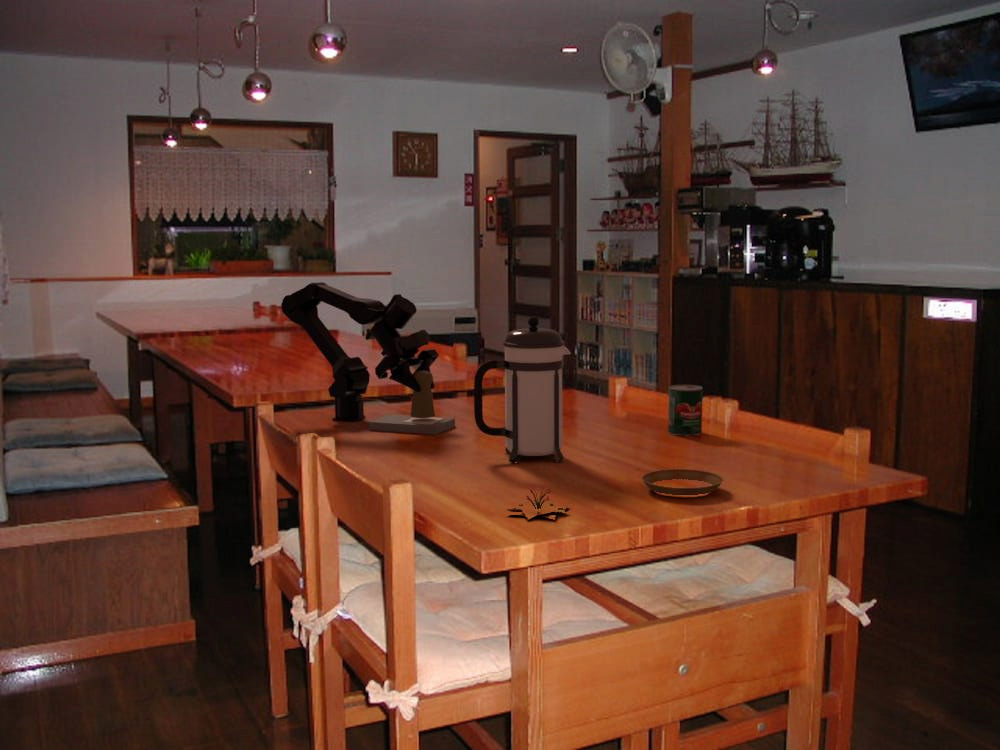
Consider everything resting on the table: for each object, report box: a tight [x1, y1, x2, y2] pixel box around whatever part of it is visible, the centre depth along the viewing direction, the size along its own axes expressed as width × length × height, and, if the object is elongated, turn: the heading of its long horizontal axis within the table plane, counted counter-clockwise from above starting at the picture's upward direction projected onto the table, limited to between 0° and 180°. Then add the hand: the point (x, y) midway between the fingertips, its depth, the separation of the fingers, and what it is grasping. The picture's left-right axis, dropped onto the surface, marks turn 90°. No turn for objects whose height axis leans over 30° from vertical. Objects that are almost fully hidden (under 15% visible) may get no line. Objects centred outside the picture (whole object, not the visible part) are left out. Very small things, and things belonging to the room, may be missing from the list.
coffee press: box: [473, 316, 571, 464], centre depth 212 cm, size 17×16×30 cm
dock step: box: [368, 413, 456, 436], centre depth 247 cm, size 18×11×2 cm, turn 68°
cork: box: [409, 371, 436, 418], centre depth 245 cm, size 6×6×11 cm
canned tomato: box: [667, 384, 704, 437], centre depth 238 cm, size 8×8×11 cm
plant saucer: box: [641, 468, 724, 495], centre depth 186 cm, size 15×15×3 cm
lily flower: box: [513, 487, 566, 514], centre depth 172 cm, size 12×12×5 cm
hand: (426, 389), depth 244 cm, fingers closed on cork, 5 cm apart
